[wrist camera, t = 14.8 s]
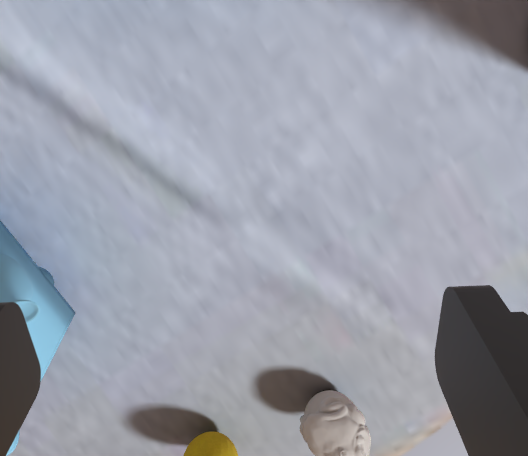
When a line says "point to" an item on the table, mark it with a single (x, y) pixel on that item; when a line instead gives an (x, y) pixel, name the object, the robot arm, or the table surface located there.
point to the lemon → (211, 445)
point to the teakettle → (33, 300)
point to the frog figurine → (334, 426)
